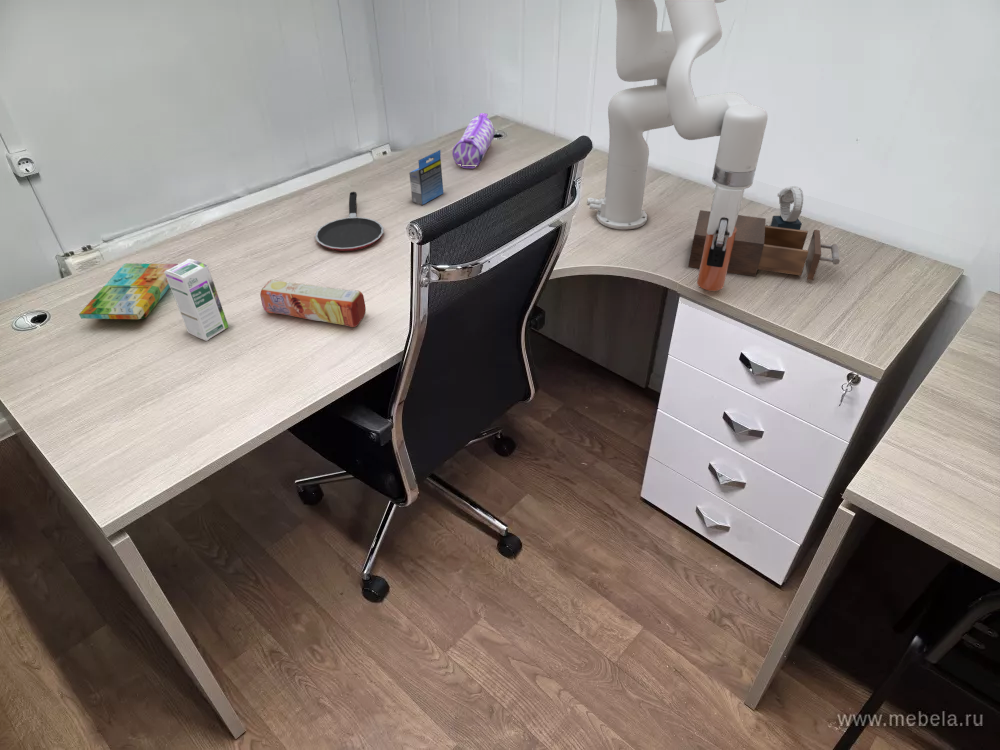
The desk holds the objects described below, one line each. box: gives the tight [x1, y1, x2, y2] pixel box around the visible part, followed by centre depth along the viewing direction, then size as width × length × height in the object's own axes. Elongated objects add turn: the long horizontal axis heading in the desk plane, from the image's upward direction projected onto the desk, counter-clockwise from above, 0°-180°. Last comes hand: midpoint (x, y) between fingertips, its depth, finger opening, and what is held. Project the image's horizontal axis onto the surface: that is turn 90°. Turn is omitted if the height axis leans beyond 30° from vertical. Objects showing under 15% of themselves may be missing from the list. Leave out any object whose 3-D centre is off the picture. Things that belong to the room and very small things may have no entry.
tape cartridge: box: [408, 149, 444, 206], centre depth 179 cm, size 9×4×12 cm, turn 144°
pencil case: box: [452, 112, 495, 170], centre depth 202 cm, size 22×9×10 cm, turn 171°
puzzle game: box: [78, 262, 179, 320], centre depth 142 cm, size 12×5×20 cm
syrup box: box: [164, 258, 230, 342], centre depth 131 cm, size 6×6×14 cm
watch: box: [770, 185, 804, 230], centre depth 162 cm, size 6×8×11 cm
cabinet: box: [687, 209, 767, 278], centre depth 153 cm, size 15×13×8 cm
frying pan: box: [314, 191, 384, 252], centre depth 169 cm, size 28×16×3 cm, turn 8°
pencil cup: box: [696, 227, 737, 292], centre depth 140 cm, size 6×6×13 cm
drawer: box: [757, 225, 840, 281], centre depth 149 cm, size 18×11×6 cm, turn 72°
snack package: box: [259, 279, 367, 328], centre depth 137 cm, size 21×7×7 cm, turn 73°
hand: (715, 257), depth 140 cm, fingers closed on pencil cup, 5 cm apart
